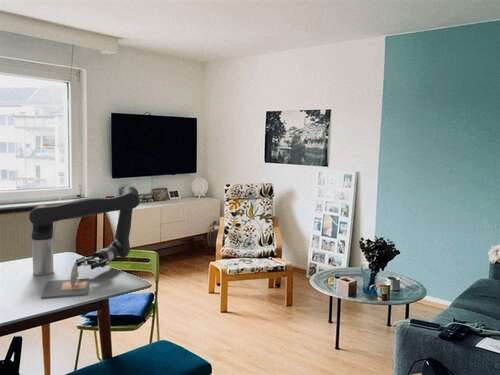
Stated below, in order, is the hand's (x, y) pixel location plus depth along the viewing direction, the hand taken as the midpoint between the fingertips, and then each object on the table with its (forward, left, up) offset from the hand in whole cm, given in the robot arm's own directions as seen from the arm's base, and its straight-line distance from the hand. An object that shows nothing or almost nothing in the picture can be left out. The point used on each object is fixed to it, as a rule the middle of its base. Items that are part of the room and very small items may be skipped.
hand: (83, 266), depth 208 cm
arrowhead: (+6, -4, -7) cm, 10 cm away
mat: (+7, -7, -8) cm, 12 cm away
